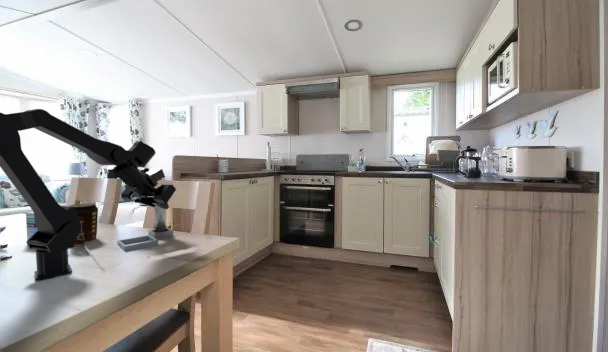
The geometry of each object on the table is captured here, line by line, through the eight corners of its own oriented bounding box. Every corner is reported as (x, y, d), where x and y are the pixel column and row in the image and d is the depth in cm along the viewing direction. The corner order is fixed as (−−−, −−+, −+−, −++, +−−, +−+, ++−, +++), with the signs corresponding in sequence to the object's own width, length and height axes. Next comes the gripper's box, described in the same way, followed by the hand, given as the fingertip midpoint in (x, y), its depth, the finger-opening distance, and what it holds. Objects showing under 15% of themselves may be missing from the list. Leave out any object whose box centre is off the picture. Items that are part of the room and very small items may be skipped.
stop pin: (170, 229, 97) (168, 187, 96) (155, 232, 93) (154, 188, 93) (165, 227, 100) (164, 187, 99) (151, 229, 97) (150, 188, 96)
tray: (158, 248, 87) (158, 240, 87) (124, 255, 81) (124, 246, 81) (149, 242, 93) (149, 235, 93) (117, 248, 87) (117, 240, 87)
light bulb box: (26, 244, 93) (24, 212, 92) (49, 239, 99) (47, 208, 99) (50, 246, 90) (49, 213, 90) (72, 240, 97) (71, 209, 96)
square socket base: (180, 238, 98) (180, 229, 97) (155, 243, 92) (155, 234, 92) (170, 234, 104) (170, 225, 104) (147, 238, 98) (146, 229, 98)
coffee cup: (72, 241, 95) (70, 203, 95) (102, 238, 99) (100, 202, 98) (63, 248, 87) (61, 207, 87) (96, 245, 91) (94, 205, 90)
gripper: (170, 159, 89) (196, 190, 100) (128, 160, 95) (156, 189, 106) (150, 186, 82) (179, 216, 93) (105, 184, 88) (138, 213, 99)
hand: (163, 207), depth 98 cm, fingers closed on stop pin, 4 cm apart
